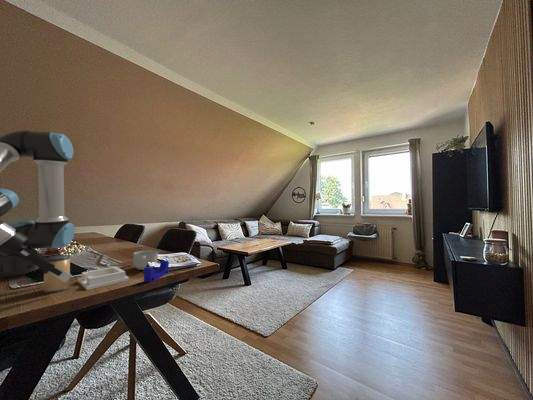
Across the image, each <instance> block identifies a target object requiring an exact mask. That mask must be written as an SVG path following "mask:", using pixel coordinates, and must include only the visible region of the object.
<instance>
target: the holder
mask: <svg viewBox="0 0 533 400" xmlns="http://www.w3.org/2000/svg"><path fill="white" fill-rule="evenodd" d="M126 273H127V272H126V271H125V270H123V269H121V268H119V267H118V266H111V267H105V268H104V267H103V268H99V269H94V270H89V271H83V272H81V277H79V278H77V282H78V284H79V285H80V286H82V287H83V288H84V289H85V290H86V291H89V290H90V291H91V290H93V289H98V288H103V287H107V286H111V285H112V286H113V285H115V284H120V283H124V282H128V281H129V280H130V277H129V276H128V275H126Z"/></svg>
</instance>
